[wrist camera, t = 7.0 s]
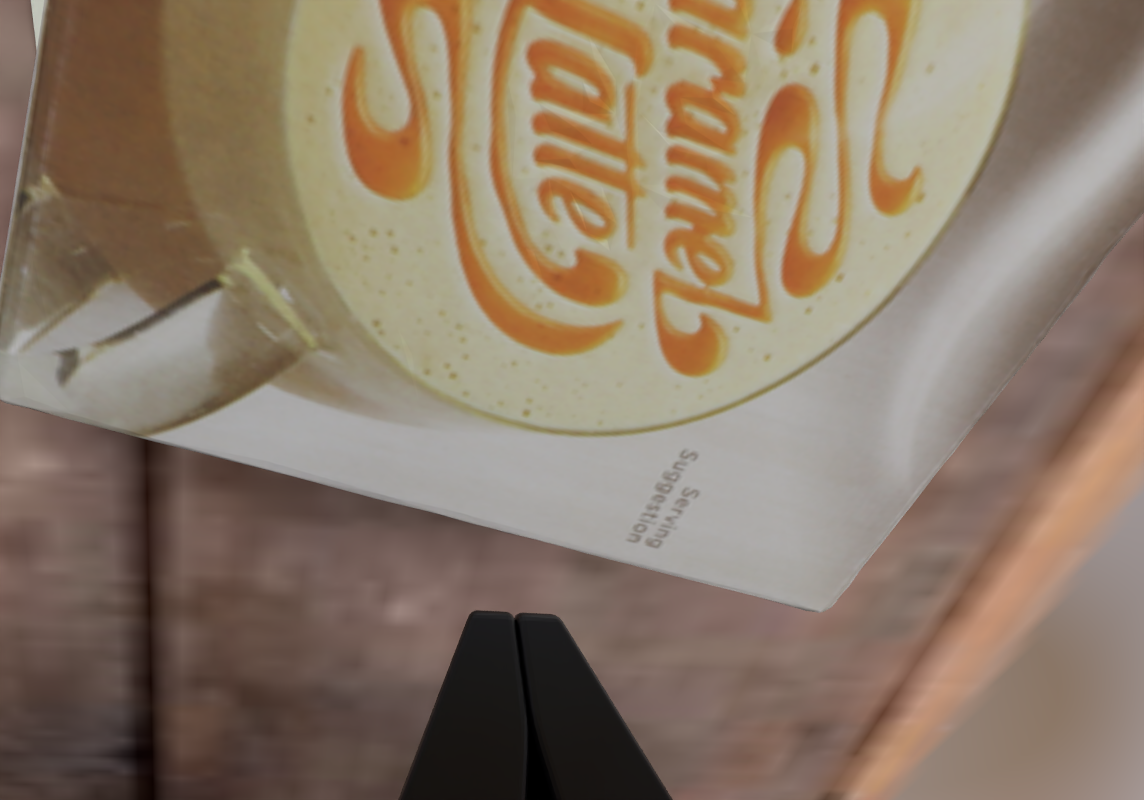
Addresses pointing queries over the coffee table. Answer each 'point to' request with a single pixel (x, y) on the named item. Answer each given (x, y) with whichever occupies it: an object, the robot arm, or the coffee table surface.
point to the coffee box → (571, 251)
